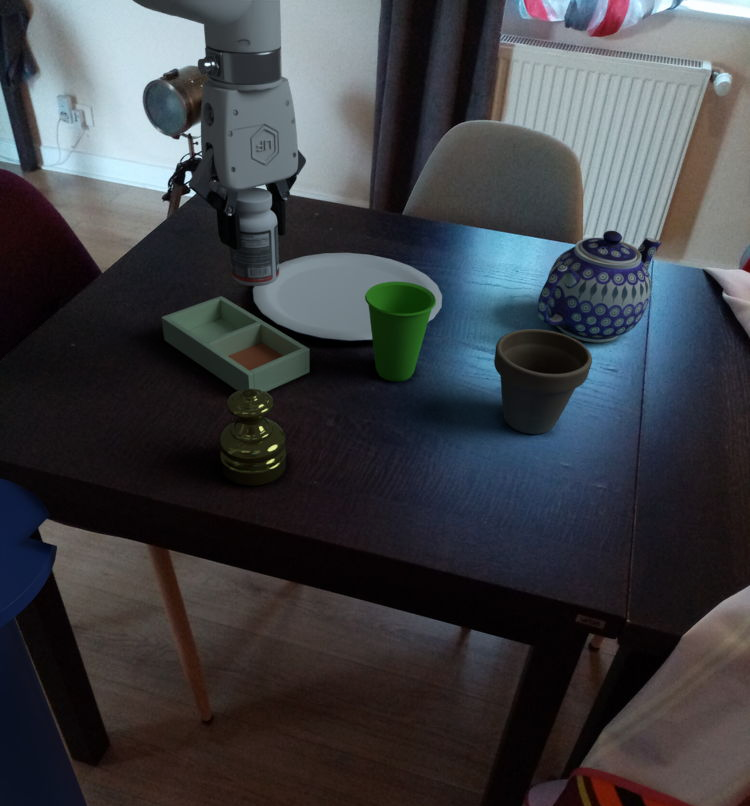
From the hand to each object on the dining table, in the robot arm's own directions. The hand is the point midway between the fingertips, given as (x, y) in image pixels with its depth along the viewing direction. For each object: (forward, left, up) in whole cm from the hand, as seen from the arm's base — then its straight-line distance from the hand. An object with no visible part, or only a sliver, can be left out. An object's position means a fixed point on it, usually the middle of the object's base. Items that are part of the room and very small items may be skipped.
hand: (253, 237), depth 91 cm
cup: (+15, -10, -19) cm, 26 cm away
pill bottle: (0, 0, -5) cm, 5 cm away
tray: (+1, +7, -19) cm, 20 cm away
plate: (+24, +9, -19) cm, 32 cm away
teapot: (+47, -20, -19) cm, 55 cm away
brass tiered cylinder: (-12, -14, -19) cm, 27 cm away
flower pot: (+20, -29, -19) cm, 40 cm away
